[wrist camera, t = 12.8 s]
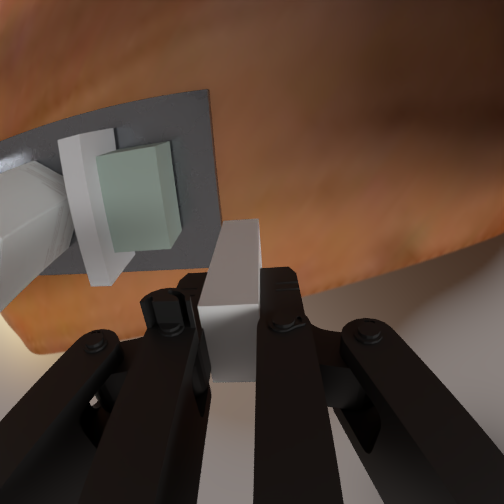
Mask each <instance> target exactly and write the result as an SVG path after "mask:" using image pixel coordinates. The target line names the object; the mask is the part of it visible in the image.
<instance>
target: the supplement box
mask: <svg viewBox="0 0 504 504" xmlns="http://www.w3.org/2000/svg"><path fill="white" fill-rule="evenodd" d="M73 231H74V224H73V220H72V215H71V211H70V207H69V202H68V197H67V193H66V188H65V182H64V177H63V176H62V175H60V174H58V173H57V172H55V171H53V170H51V169H49V168H48V167H46V166H44V165H42V164H40V163H38V162H36V161H31V162H29V163H26V164H23V165H20V166H18V167H15V168H13V169H10V170H7V171H5V172H2V173H0V312H1V311H2V310H3V309H4V308H5V307H6V306H7V305H8V304H9V303H10V302H11V301H12V300H13V299H14V298H15V297H16V296H17V295H18V294H19V293H20V292H21V291H22V290H23V289H24V288H25V287H26V286H27V285H28V284H29V283H30V282H31V281H33V280H34V279H35V278H36V277H37V276H38V275H39V274H40V273H41V272H42V271H43V270H44V269H45V268H46V267H48V266H49V265H50V264H51V263H52V262H53V261H54V260H55V259H57V258H58V257H59V256H60V255H61V254H62V253H63V252H64V251H66V250H67V249H68V248H69V246H70V242H71V238H72V234H73Z"/></svg>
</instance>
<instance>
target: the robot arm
mask: <svg viewBox="0 0 504 504" xmlns="http://www.w3.org/2000/svg"><path fill="white" fill-rule="evenodd" d="M140 305H141V308H142V312H143V315H144V319H145V322H146V326H147V330H146V332H145V335H144V337H141V338H137V339H133V340H127V341H122V342H120V341H119V338H118V336H117V335H116V333H115V332H113V331H111V330H105V329H100V330H94V331H91V332H89V333H87V334H84V335H83V336H82V337H80V338H79V339H78V340H77V341H76V342H75V343H74V344H73V345H72V346H71V347H70V348H69V349H68V350H67V351H66V352H65V353H64V354H63V355H62V356H61V357H60V358H59V359H58V360H57V361H56V362H55V363H54V364H53V366H51V368H49V370H48V371H47V372H46V373H45V374H44V375H43V376H42V377H41V378H40V379H39V380H38V381H37V382H36V383H35V384H34V385H33V387H31V388H30V390H29V391H28V392H27V393H26V394H25V395H24V396H23V397H22V398H21V399H20V401H18V403H17V404H16V405H15V406H14V407H13V408H12V409H11V410H10V411H9V412H8V414H7V415H6V416H5V417H4V418H3V419H2V420H1V421H0V504H197V497H198V490H199V482H200V474H201V467H202V460H203V452H204V445H205V438H206V431H207V424H208V416H209V410H210V403H211V390H210V385H209V379H210V373H211V374H212V379H213V382H256V405H255V449H254V451H255V452H254V492H253V493H254V494H253V496H254V497H253V504H344V503H343V497H342V490H341V485H340V477H339V472H338V465H337V459H336V453H335V447H334V441H333V435H332V430H331V424H330V419H329V413H328V408H327V406H328V407H333V409H334V412H335V414H336V416H337V418H338V420H339V422H340V423H341V425H342V427H343V429H344V431H345V433H346V434H347V436H348V438H349V440H350V442H351V443H352V445H353V447H354V449H355V451H356V453H357V455H358V456H359V458H360V460H361V462H362V464H363V466H364V467H365V469H366V471H367V473H368V475H369V477H370V478H371V480H372V482H373V484H374V485H375V488H376V489H377V491H378V493H379V495H380V497H381V498H382V500H383V502H384V504H504V455H503V454H502V452H501V451H500V450H499V449H498V447H497V446H496V445H495V444H494V443H493V441H492V440H491V439H490V438H489V436H488V435H487V434H486V433H485V432H484V431H483V429H482V428H481V427H480V426H479V425H478V423H477V422H476V421H475V420H474V419H473V418H472V416H471V415H470V414H469V413H468V412H467V411H466V409H465V408H464V407H463V406H462V405H461V404H460V403H459V401H458V400H457V399H456V398H455V397H454V396H453V394H452V393H451V392H450V391H449V390H448V389H447V388H446V386H445V385H444V384H443V383H442V382H441V381H440V380H439V379H438V378H437V376H436V375H435V374H434V373H433V372H432V371H431V370H430V369H429V368H428V366H427V365H426V364H425V363H424V362H423V361H422V360H421V359H420V358H419V357H418V356H417V355H416V353H415V352H414V351H413V350H412V349H411V348H410V347H409V346H408V345H407V344H406V343H405V341H404V340H403V339H402V338H401V337H400V336H399V335H398V334H397V333H396V332H395V331H394V330H393V329H392V328H391V327H390V326H389V325H387V324H386V323H385V322H382V321H379V320H376V319H370V318H363V319H356V320H353V321H351V322H349V323H347V324H346V325H345V326H344V327H343V329H342V332H334V331H328V330H323V329H320V328H318V327H315V326H314V325H312V324H311V323H310V321H309V319H308V317H307V316H306V315H305V313H304V309H303V303H302V298H301V294H300V290H299V284H298V280H297V275H296V273H295V272H294V271H293V270H292V269H291V268H290V267H275V268H262V260H261V246H260V231H259V219H245V220H231V221H223V224H222V227H221V231H220V234H219V237H218V240H217V243H216V247H215V250H214V253H213V256H212V260H211V263H210V266H209V270H208V272H205V273H188V274H187V275H186V276H185V277H183V278H182V279H181V280H180V281H179V283H178V285H177V288H165V289H160V290H157V291H154V292H151V293H149V294H148V295H146V296H144V298H143V299H142V300H141V301H140ZM94 395H95V396H96V398H97V400H98V401H97V403H96V404H94V405H93V406H91V405H90V403H89V402H90V400H91V399H92V398H93V397H94Z"/></svg>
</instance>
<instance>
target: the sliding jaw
mask: <svg viewBox="0 0 504 504" xmlns="http://www.w3.org/2000/svg"><path fill="white" fill-rule="evenodd" d="M58 147H59V154H60V160H61V166H62V172H63V177H64V182H65V188H66V193H67V197H68V202H69V207H70V211H71V215H72V220H73V224H74V228H75V232H76V236H77V240H78V243H79V247H80V251H81V254H82V258H83V261H84V265H85V268H86V272H87V275H88V278H89V281H90V284H91V286H112V284H113V283H114V282H115V280H116V279H117V278H118V276H119V275H120V274H121V272H122V271H123V270H124V269H125V267H126V266H127V265H128V263H129V262H130V261H131V259H132V258H133V257H134V256H135V251H146V250H161V249H171V248H172V246H173V245H174V243H175V241H176V240H177V238H178V236H179V235H180V233H181V231H182V228H181V222H180V215H179V209H178V202H177V195H176V188H175V181H174V173H173V165H172V157H171V149H170V141H167V142H160V143H153V144H147V145H141V146H135V147H129V148H123V149H118V150H116V146H115V138H114V130H113V128H110V129H104V130H98V131H93V132H88V133H83V134H78V135H74V136H71V137H67V138H63V139H60V140H58Z"/></svg>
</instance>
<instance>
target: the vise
mask: <svg viewBox="0 0 504 504" xmlns="http://www.w3.org/2000/svg"><path fill="white" fill-rule="evenodd" d="M110 128H113V130H114V138H115V146H116V150H118V149H123V148H129V147H135V146H141V145H147V144H153V143H160V142H167V141H170V149H171V157H172V165H173V173H174V181H175V188H176V195H177V202H178V209H179V215H180V222H181V228H182V231H181V233H180V235H179V236H178V238H177V240H176V241H175V243H174V245H173V246H172V248H171V249H161V250H146V251H135V256H134V257H133V258H132V259H131V261H130V262H129V263H128V265H127V266H126V267H125V269H124V270H123V271H122V272H132V271H153V270H173V269H193V268H209V266H210V263H211V260H212V256H213V253H214V250H215V247H216V243H217V240H218V237H219V234H220V231H221V227H222V215H221V206H220V197H219V188H218V178H217V168H216V159H215V148H214V138H213V128H212V117H211V106H210V94H209V90H208V89H205V90H197V91H190V92H183V93H176V94H170V95H164V96H159V97H153V98H148V99H143V100H138V101H133V102H128V103H124V104H119V105H115V106H111V107H106V108H102V109H98V110H95V111H91V112H87V113H83V114H80V115H76V116H73V117H69V118H66V119H63V120H59V121H56V122H53V123H50V124H47V125H44V126H41V127H38V128H35V129H32V130H29V131H26V132H24V133H21V134H18V135H16V136H13V137H10V138H8V139H5V140H3V141H0V173H2V172H5V171H7V170H10V169H13V168H15V167H18V166H20V165H23V164H26V163H29V162H31V161H36V162H38V163H40V164H42V165H44V166H46V167H48V168H49V169H51V170H53V171H55V172H57V173H58V174H60V175H62V176H63V172H62V166H61V160H60V154H59V147H58V140H60V139H63V138H67V137H71V136H74V135H78V134H83V133H88V132H93V131H98V130H104V129H110ZM86 273H87V272H86V268H85V265H84V261H83V258H82V254H81V251H80V247H79V243H78V240H77V236H76V232H75V228H74V231H73V234H72V238H71V242H70V246H69V248H68V249H67V250H66V251H64V252H63V253H62V254H61V255H60V256H59V257H58V258H57V259H55V260H54V261H53V262H52V263H51V264H50V265H49V266H48V267H46V268H45V269H44V270H43V271H42V272H41V273H40V274H39V275H61V274H86Z"/></svg>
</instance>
